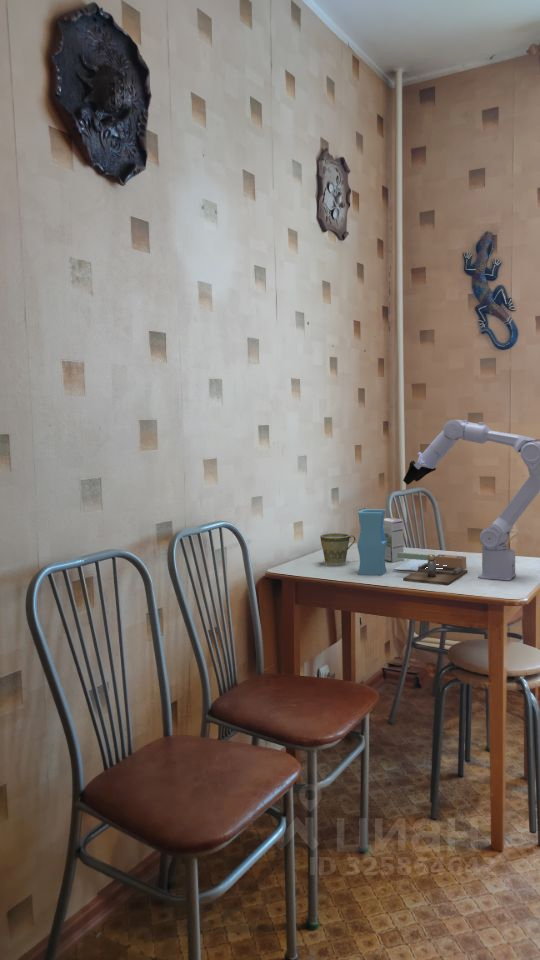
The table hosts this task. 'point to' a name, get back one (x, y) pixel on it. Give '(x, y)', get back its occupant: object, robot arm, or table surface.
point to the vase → (372, 542)
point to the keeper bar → (416, 556)
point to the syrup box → (393, 538)
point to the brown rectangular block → (450, 561)
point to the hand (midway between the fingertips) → (410, 481)
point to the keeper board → (436, 574)
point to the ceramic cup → (335, 548)
